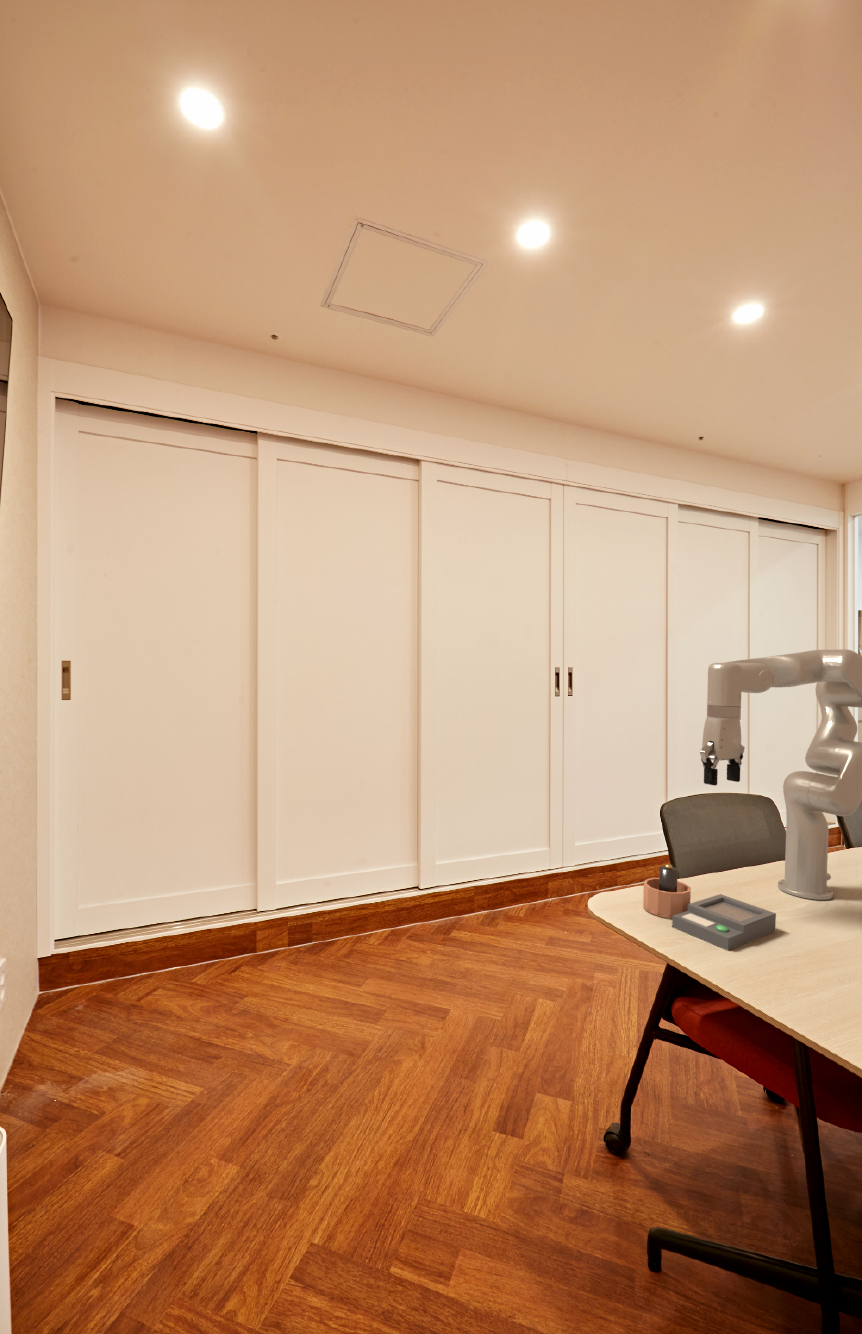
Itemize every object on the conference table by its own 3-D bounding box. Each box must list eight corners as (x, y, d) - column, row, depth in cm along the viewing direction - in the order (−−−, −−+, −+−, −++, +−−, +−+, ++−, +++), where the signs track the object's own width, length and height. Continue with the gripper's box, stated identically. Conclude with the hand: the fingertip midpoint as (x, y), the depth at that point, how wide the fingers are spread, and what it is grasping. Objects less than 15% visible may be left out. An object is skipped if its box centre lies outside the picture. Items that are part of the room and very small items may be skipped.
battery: (665, 902, 149) (666, 861, 149) (679, 908, 146) (681, 866, 146) (654, 905, 147) (656, 864, 147) (669, 911, 143) (670, 868, 143)
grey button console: (719, 910, 147) (720, 894, 147) (775, 931, 136) (775, 913, 136) (672, 926, 137) (672, 908, 137) (727, 950, 126) (728, 930, 126)
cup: (661, 899, 153) (662, 875, 153) (698, 913, 145) (699, 888, 145) (634, 907, 147) (635, 882, 147) (672, 922, 139) (672, 896, 139)
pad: (723, 905, 144) (723, 901, 144) (762, 919, 137) (762, 915, 137) (700, 913, 139) (700, 909, 139) (739, 928, 132) (739, 924, 132)
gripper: (729, 711, 159) (727, 777, 159) (688, 712, 149) (687, 783, 149) (757, 713, 152) (756, 782, 153) (717, 715, 143) (715, 788, 143)
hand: (722, 782), depth 151 cm, fingers open, 9 cm apart
